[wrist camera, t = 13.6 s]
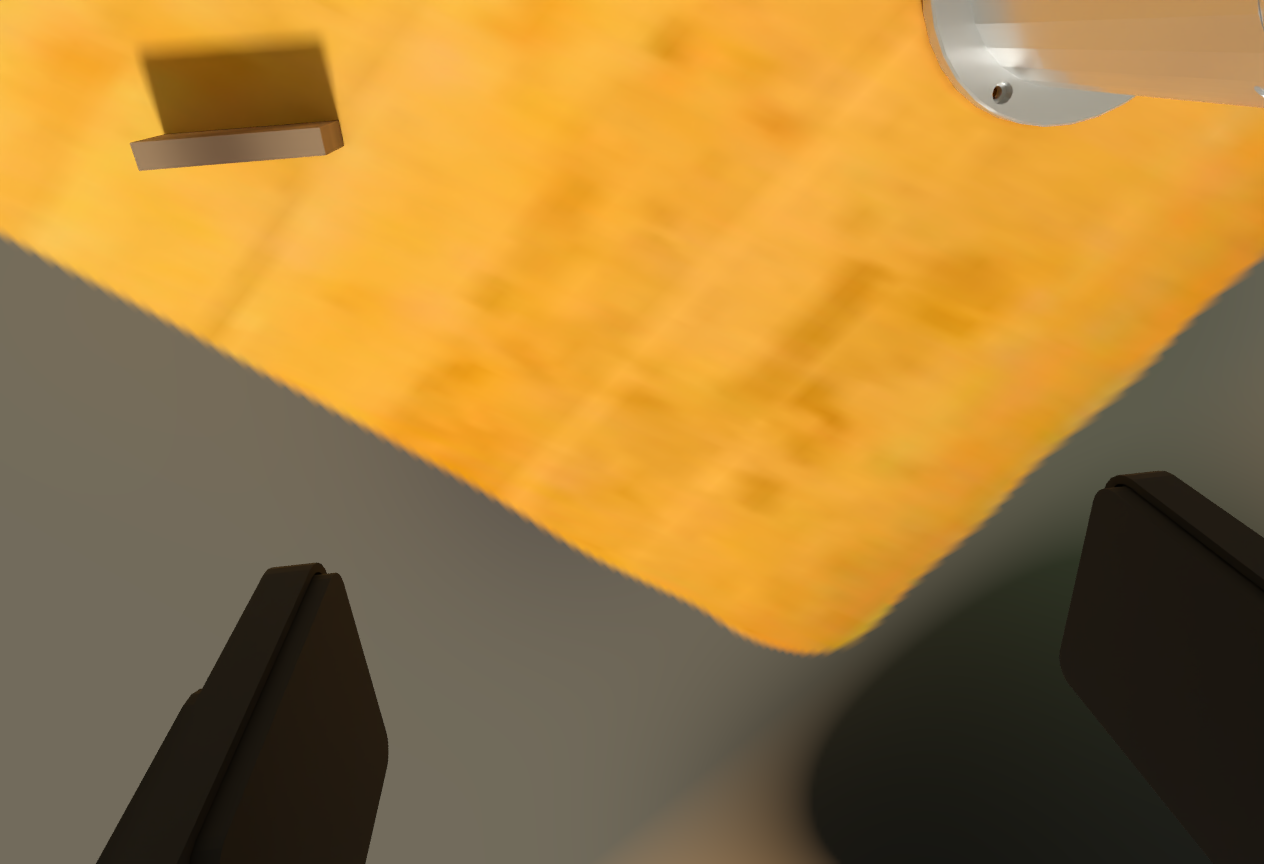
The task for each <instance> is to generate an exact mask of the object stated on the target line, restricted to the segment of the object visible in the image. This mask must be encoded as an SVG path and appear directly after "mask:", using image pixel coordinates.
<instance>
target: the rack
mask: <svg viewBox="0 0 1264 864" xmlns="http://www.w3.org/2000/svg"><path fill="white" fill-rule="evenodd" d="M130 145H131V148H132V151H133V154H134V157H135V160H136V163H137V166H138V169H139V171H142V170H154V169H166V168H178V167H190V166H202V165H214V164H226V163H238V162H250V161H262V160H274V159H286V158H298V157H310V156H322V155H327V154H329V153H331V152H333V151H335V150H337V149H339V148H341V147H343V146H344V144H343V139H342V135H341V130H340V126H339V121H338V120H336V121H324V122H311V123H299V124H287V125H274V126H262V127H250V128H238V129H225V130H213V131H201V132H188V133H176V134H164V135H160V136H156V137H152V138H148V139H144V140H140V141H136V142H132V143H130Z"/></svg>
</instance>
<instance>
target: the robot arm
mask: <svg viewBox="0 0 1264 864" xmlns="http://www.w3.org/2000/svg"><path fill="white" fill-rule="evenodd" d="M923 14H924V19H925V23H926V28H927V32H928V37H929V42H930V44H931V46H932V49H933V51H934V53H935V56H936V58H937V60H938V62H939V65H940V67H941V69H942V70H943V72H944V73H945V74H946V76H947V77H948V79H949V80H950V81H951V83H952V84H953V86H954V87H955V88H956V90H957V91H958V92H960V93H961V94H962V95H963V96H964V97H965V98H966V99H968V100H969V101H970V102H971V103H972V104H973V105H975V106H976V107H978V108H979V109H981V110H983V111H985V112H987V113H989V114H991V115H993V116H995V117H997V118H1000V119H1004V120H1008V121H1012V122H1016V123H1020V124H1026V125H1035V126H1043V127H1048V126H1059V125H1071V124H1075V123H1078V122H1082V121H1085V120H1089V119H1092V118H1096V117H1099V116H1101V115H1103V114H1105V113H1107V112H1109V111H1111V110H1113V109H1115V108H1117V107H1119V106H1121V105H1123V104H1125V103H1127V102H1128V101H1130V100H1131V99H1132V98H1134V97H1135V96H1146V97H1156V98H1167V99H1177V100H1188V101H1198V102H1208V103H1219V104H1229V105H1240V106H1250V107H1261V108H1264V0H923ZM995 87H996V88H997V93H996V95H995V96H994V97H992V93H993V90H994V88H995ZM1059 659H1060V666H1061V669H1062V673H1063V675H1064V677H1065V679H1066V681H1067V682H1068V684H1069V685H1070V686H1071V687H1072V688H1073V690H1074V691H1075V692H1076V694H1077V695H1078V696H1079V697H1080V699H1081V700H1082V701H1083V702H1084V704H1085V705H1086V706H1087V707H1088V709H1089V710H1090V711H1091V712H1092V714H1093V715H1094V716H1095V717H1096V719H1097V720H1098V721H1099V722H1100V724H1101V725H1102V726H1103V727H1104V729H1105V730H1106V731H1107V732H1108V734H1109V735H1110V736H1111V737H1112V739H1113V740H1114V741H1115V742H1116V744H1117V745H1118V746H1119V747H1120V748H1121V750H1122V751H1123V752H1124V753H1125V755H1126V756H1127V757H1128V758H1129V760H1130V761H1131V762H1132V763H1133V765H1134V766H1135V767H1136V768H1137V770H1138V771H1139V772H1140V773H1141V775H1142V776H1143V777H1144V778H1145V780H1146V781H1147V782H1148V783H1149V785H1150V786H1151V787H1152V788H1153V790H1154V791H1155V792H1156V793H1157V795H1158V796H1159V797H1160V798H1161V800H1162V801H1163V802H1164V803H1165V804H1166V806H1167V807H1168V808H1169V809H1170V811H1171V812H1172V813H1173V814H1174V816H1175V817H1176V818H1177V819H1178V820H1179V822H1180V823H1181V824H1182V826H1183V827H1184V828H1185V829H1186V830H1187V832H1188V833H1189V834H1190V836H1191V837H1192V838H1193V839H1194V841H1195V842H1196V843H1197V844H1198V846H1199V847H1200V848H1201V849H1202V851H1203V852H1204V853H1205V854H1206V856H1207V857H1208V858H1209V859H1210V860H1211V862H1212V863H1213V864H1264V538H1263V537H1262V536H1260V535H1259V534H1257V533H1256V532H1254V531H1253V530H1252V529H1250V528H1249V527H1247V526H1246V525H1244V524H1243V523H1242V522H1240V521H1239V520H1237V519H1236V518H1234V517H1233V516H1232V515H1230V514H1229V513H1227V512H1226V511H1224V510H1223V509H1222V508H1220V507H1219V506H1217V505H1216V504H1214V503H1213V502H1211V501H1210V500H1209V499H1207V498H1205V497H1204V496H1203V495H1201V494H1200V493H1199V492H1197V491H1196V490H1194V489H1193V488H1191V487H1190V486H1189V485H1187V484H1185V483H1184V482H1183V481H1181V480H1180V479H1178V478H1177V477H1176V476H1174V475H1172V474H1170V473H1168V472H1166V471H1153V472H1144V473H1135V474H1125V475H1118V476H1115V477H1113V478H1111V479H1110V480H1109V481H1108V483H1107V484H1106V487H1105V488H1104V489H1101V490H1099V491H1098V492H1097V494H1096V495H1095V498H1094V500H1093V505H1092V509H1091V514H1090V518H1089V523H1088V527H1087V532H1086V536H1085V541H1084V545H1083V549H1082V554H1081V559H1080V563H1079V567H1078V572H1077V576H1076V581H1075V585H1074V590H1073V594H1072V599H1071V603H1070V608H1069V613H1068V617H1067V621H1066V626H1065V630H1064V635H1063V639H1062V644H1061V649H1060V655H1059ZM387 764H388V738H387V734H386V730H385V726H384V723H383V719H382V716H381V712H380V709H379V705H378V702H377V699H376V695H375V691H374V688H373V684H372V681H371V677H370V674H369V670H368V667H367V663H366V660H365V656H364V653H363V649H362V646H361V642H360V639H359V635H358V632H357V628H356V625H355V621H354V618H353V614H352V611H351V607H350V604H349V600H348V597H347V593H346V590H345V586H344V583H343V580H342V578H341V576H340V575H339V574H338V573H330V574H327V573H326V570H325V568H324V567H323V566H322V564H320V563H309V564H301V565H291V566H283V567H273V568H270V569H268V570H267V571H266V572H265V573H264V575H263V577H262V578H261V580H260V582H259V584H258V586H257V588H256V590H255V592H254V594H253V595H252V597H251V599H250V601H249V603H248V605H247V606H246V608H245V610H244V612H243V614H242V616H241V618H240V619H239V621H238V623H237V625H236V627H235V629H234V631H233V632H232V634H231V636H230V638H229V640H228V642H227V644H226V645H225V647H224V649H223V651H222V653H221V655H220V657H219V659H218V661H217V662H216V664H215V666H214V668H213V670H212V672H211V674H210V676H209V677H208V679H207V681H206V683H205V685H204V687H203V688H202V689H199V690H198V691H197V692H195V693H193V694H192V695H191V696H190V697H189V699H188V700H187V701H186V703H185V704H184V705H183V707H182V709H181V711H180V712H179V714H178V716H177V718H176V720H175V721H174V723H173V725H172V727H171V729H170V731H169V732H168V734H167V736H166V738H165V740H164V741H163V743H162V745H161V747H160V749H159V750H158V752H157V754H156V756H155V758H154V760H153V761H152V763H151V765H150V767H149V769H148V770H147V772H146V774H145V776H144V778H143V780H142V781H141V783H140V785H139V787H138V789H137V791H136V792H135V794H134V796H133V798H132V800H131V801H130V803H129V805H128V807H127V808H126V810H125V812H124V814H123V816H122V818H121V819H120V821H119V823H118V825H117V827H116V829H115V830H114V832H113V834H112V836H111V837H110V839H109V841H108V843H107V845H106V847H105V848H104V850H103V852H102V854H101V856H100V858H99V860H98V861H97V863H96V864H365V862H366V858H367V853H368V849H369V845H370V840H371V836H372V831H373V827H374V823H375V818H376V813H377V809H378V805H379V800H380V796H381V792H382V787H383V783H384V778H385V773H386V769H387Z"/></svg>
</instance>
